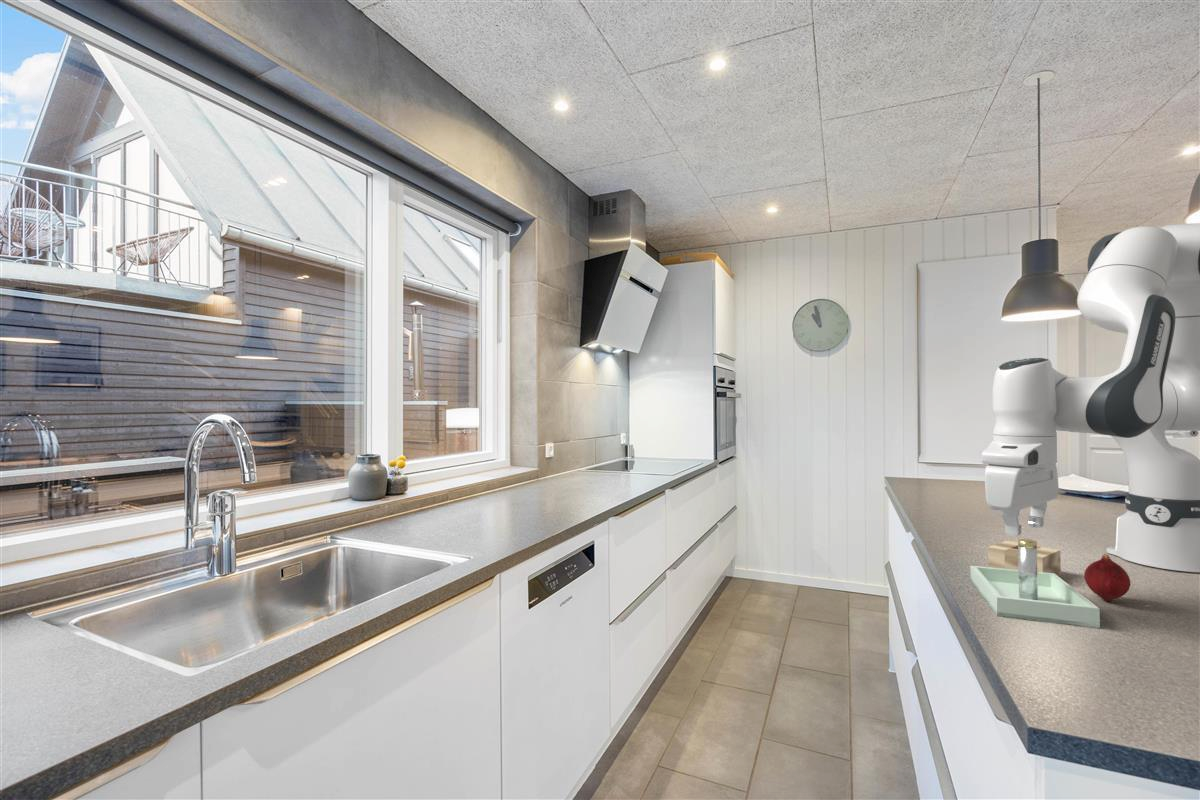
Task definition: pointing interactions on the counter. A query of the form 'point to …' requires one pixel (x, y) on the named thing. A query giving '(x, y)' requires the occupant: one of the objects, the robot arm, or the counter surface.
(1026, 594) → the steel pin
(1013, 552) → the hitch block
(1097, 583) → the onion
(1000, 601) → the tray
